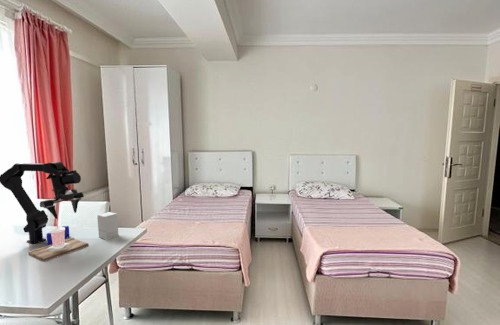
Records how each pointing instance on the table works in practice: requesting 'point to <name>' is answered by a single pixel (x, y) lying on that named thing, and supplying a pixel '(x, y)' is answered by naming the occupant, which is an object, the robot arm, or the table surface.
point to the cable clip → (49, 237)
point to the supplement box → (107, 225)
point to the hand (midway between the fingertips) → (66, 215)
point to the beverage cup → (58, 236)
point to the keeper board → (50, 253)
